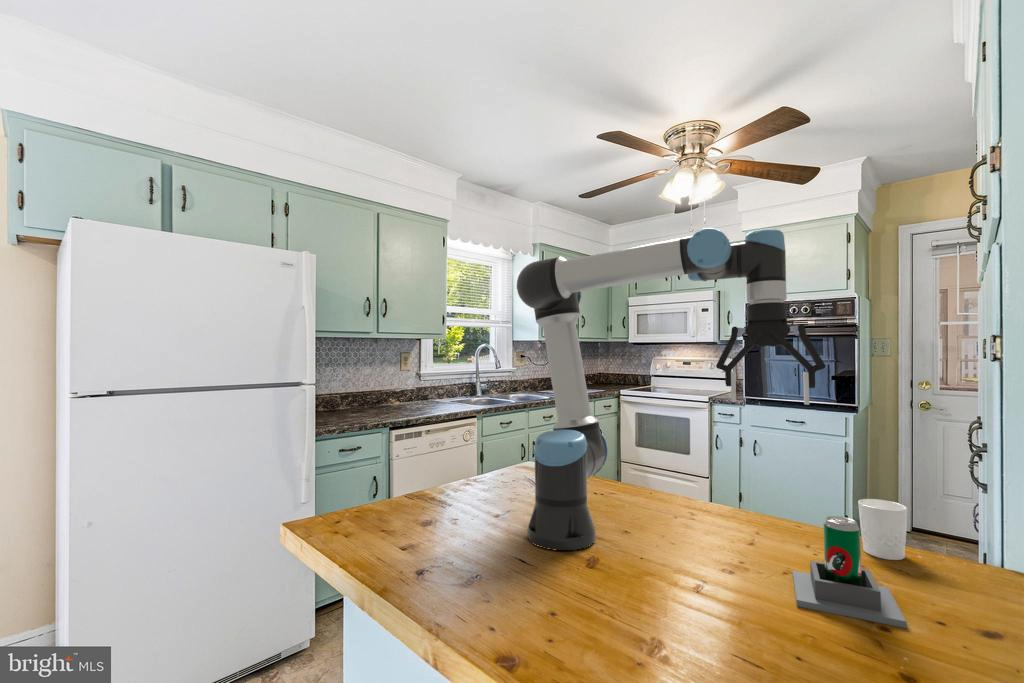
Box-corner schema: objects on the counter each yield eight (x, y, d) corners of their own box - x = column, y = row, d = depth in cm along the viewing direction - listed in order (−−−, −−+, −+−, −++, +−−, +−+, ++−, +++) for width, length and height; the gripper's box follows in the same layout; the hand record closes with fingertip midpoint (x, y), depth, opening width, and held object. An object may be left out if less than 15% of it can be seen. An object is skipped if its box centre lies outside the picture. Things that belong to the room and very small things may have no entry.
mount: (796, 606, 77) (796, 581, 77) (792, 576, 88) (792, 554, 88) (906, 628, 71) (905, 600, 71) (887, 593, 81) (887, 569, 81)
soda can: (868, 602, 76) (866, 526, 77) (833, 599, 77) (831, 524, 78) (852, 587, 81) (850, 516, 82) (820, 584, 82) (818, 514, 83)
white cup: (898, 548, 100) (896, 500, 100) (916, 564, 92) (914, 512, 93) (854, 544, 102) (852, 497, 103) (868, 558, 95) (866, 508, 95)
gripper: (834, 301, 99) (837, 403, 98) (705, 308, 111) (707, 399, 110) (839, 297, 93) (842, 406, 92) (702, 305, 104) (704, 402, 103)
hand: (769, 403), depth 101 cm, fingers open, 13 cm apart
